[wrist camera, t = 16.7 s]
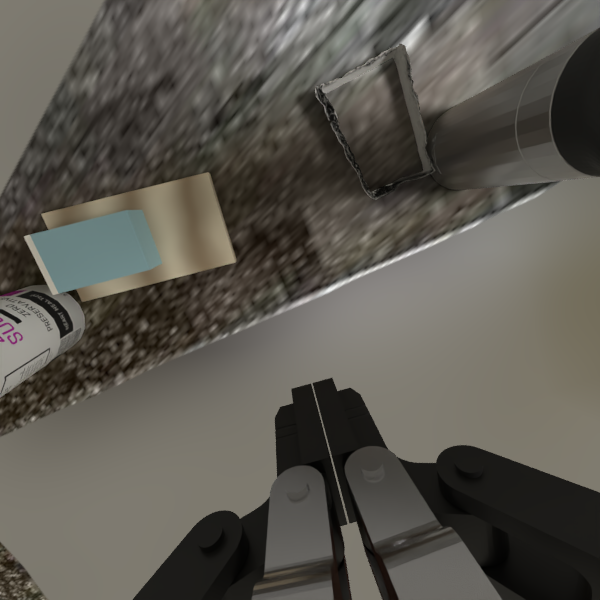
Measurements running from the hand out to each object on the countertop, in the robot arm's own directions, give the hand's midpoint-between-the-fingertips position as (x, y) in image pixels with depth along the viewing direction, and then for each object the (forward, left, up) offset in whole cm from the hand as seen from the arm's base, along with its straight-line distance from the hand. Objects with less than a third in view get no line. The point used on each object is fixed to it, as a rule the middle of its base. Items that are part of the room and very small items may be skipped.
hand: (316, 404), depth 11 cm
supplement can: (+28, -1, -29) cm, 40 cm away
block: (+13, -7, -26) cm, 29 cm away
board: (+14, -7, -29) cm, 33 cm away
